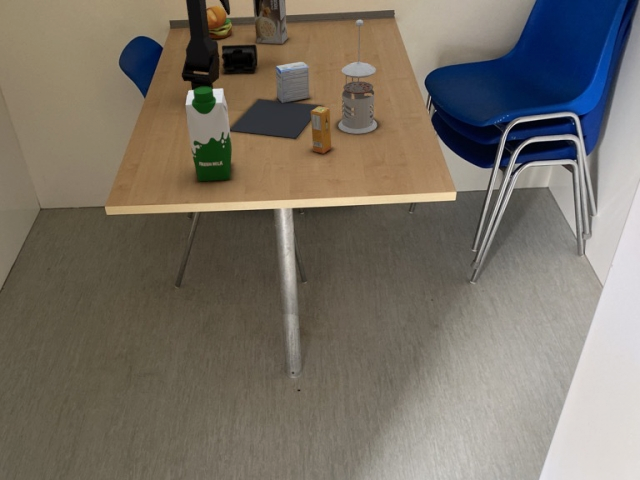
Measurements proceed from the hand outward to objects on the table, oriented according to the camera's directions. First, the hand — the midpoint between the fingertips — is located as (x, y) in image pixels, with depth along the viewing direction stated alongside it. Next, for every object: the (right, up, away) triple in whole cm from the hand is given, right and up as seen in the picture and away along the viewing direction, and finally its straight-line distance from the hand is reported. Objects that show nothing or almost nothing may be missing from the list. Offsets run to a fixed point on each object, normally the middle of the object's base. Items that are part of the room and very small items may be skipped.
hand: (243, 15), depth 195 cm
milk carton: (-4, -55, -40) cm, 68 cm away
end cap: (-1, -12, +8) cm, 15 cm away
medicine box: (+14, -28, -10) cm, 33 cm away
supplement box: (+21, -48, -34) cm, 62 cm away
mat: (+10, -36, -19) cm, 42 cm away
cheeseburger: (-11, +9, +33) cm, 35 cm away
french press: (+30, -39, -24) cm, 55 cm away
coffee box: (+8, +4, +26) cm, 27 cm away
